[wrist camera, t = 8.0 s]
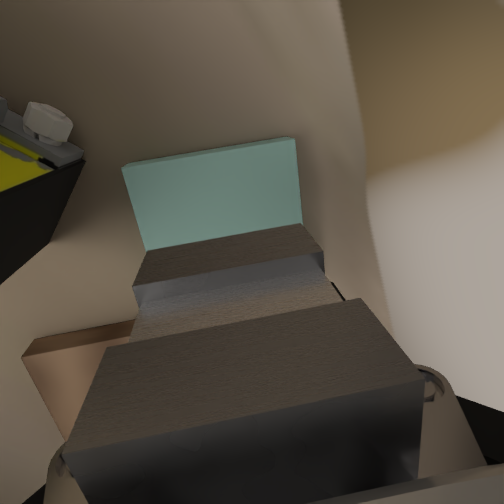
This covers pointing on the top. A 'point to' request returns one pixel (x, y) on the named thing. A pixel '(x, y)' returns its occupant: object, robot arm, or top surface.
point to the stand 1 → (70, 367)
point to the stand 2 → (215, 192)
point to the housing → (246, 384)
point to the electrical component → (33, 180)
